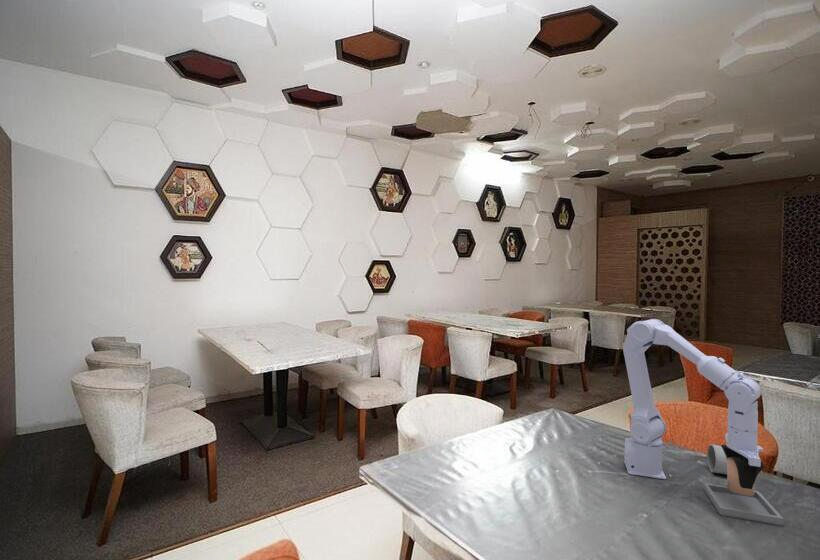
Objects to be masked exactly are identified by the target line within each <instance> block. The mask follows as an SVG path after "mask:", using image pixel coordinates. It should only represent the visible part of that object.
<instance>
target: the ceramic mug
mask: <svg viewBox="0 0 820 560" xmlns="http://www.w3.org/2000/svg"><path fill="white" fill-rule="evenodd" d="M706 455H707V456H706V457H707V458H706V459H707V465H708V468H709V471H710V472H711V473H714V474H721V475H725V476H727V458H726V455H725V453H724V451H723V449H722V447H721V445H718V444H712V443H711V444H709V445H708V448H707V453H706Z"/></svg>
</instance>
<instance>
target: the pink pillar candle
mask: <svg viewBox="0 0 820 560" xmlns="http://www.w3.org/2000/svg"><path fill="white" fill-rule="evenodd" d="M726 478H727V479H726V481H727V482H726V484H727V485H726V486H727V488H728V489H729V490H731V491H733V492H735V493H737V494H741V495H746V496H752V495H754V491H755V484H754V485H753V488H752V489H747V488H742V487H741V486H740V483H739V476H738V470H737V467H736V464H735V462H734V460H733V457H729V458H727V475H726Z"/></svg>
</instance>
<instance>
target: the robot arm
mask: <svg viewBox="0 0 820 560" xmlns="http://www.w3.org/2000/svg"><path fill="white" fill-rule="evenodd" d="M626 333H627V334H626V336H625V340H624V342H623V345H622V351H623V356H624V361H625V367H626V372H627V377H628V378H627V379H628V381H629V382H628V383H629V388H630V393H631V399H632V403H633V409H632V412H631V415H630V421H631V422H630V426H629V432H630V435H631V436H632V437H626V438H625V439H624V461H623V462H624V466H625V468H626V472H627V473H628V474H629V475H633V476H634V475H635V476H641V477H648V478H653V479H661V480H667V476H666V474H665V472H664V471H663V439H662V436H664V435H665V434H666V433H667V425H666V422H665V421H664V420H663V418H662V416H661V412H660V410H659V409H658V408H657V407H656V406H655V400H654V395H653V391H652V390H653V389H652V385H651V380H650V376H649V375H650V374H649V371H648V365H647V359H646V355H645V352H646V351H647V350H648V349H649V348H650V347H651V346H652V345H660V346H668V347H669V348H671V349H672V350H674V351H675V352H677V353H678V354H680V355H681V356H683V357H684V358H685V359H687V360H688V361H689V362H692V363H693V364H695V365H696V369H697V372H698V373H699V374H700V375H701V376H702V377H704V378H705V379H707V380H708V381H710V382H711V383H712V384H714V385H715V386H716V387H718V389H719V390H721V391H724V392H723V393H724V395H725V397H726V399H727V401H728V405H727V406H728V407H727V432H726V433H725V438H724V440H725V442H726V443H725V444H721V445H720V446H721V447H722V449H723V451H724V453H725V455H726V458H729V457H733V460H734V462H735V464H736V467H737V470H738V476H739V483H740V486H741V487H742V488H747V489H752V488H753V485H754V486H755V482H756V480H757V478H758V476H759V474H760V473H761V471H762V470H764V468H765V464H764V463H763V462H762V459H761V458H760V456H759V452H762V453H763V452H764V448H763V447H762V446H760V445H758V428H759V427H758V424H759V421H758V420H759V412H758V407H759V406H758V402H759V401H758V400H757V399H759V398H760V397H761V394H762V388H761V385H760V384H759V383H758V381H756V379H754V378H752V377H749V376H745V374H744V373H742V372H738V371H736V369H734V368H732V367H731V366H729V365H728V364H727V363H725V362H726V360H725V359H724V358H722V357H719V358H718V357H717V356H713V355H706V354H704V352H701V351H700V350H699V349H698V348H697V347H695V346H694V345H693V344H692V343H691V342H689V341H688V340H686V339H685V338H684V337H683V336H682V335H680V334H679V333H678V332H676V331H675V330H674V328H672V327H671V326H670V325H668V324H665V323H664V322H663V321H662V320H660V319H657V318H651V319H648V320H639V321H635V322H633V323H632V324H631V325H630V326H629V327H628V328H627V329H626Z"/></svg>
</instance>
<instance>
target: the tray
mask: <svg viewBox="0 0 820 560" xmlns="http://www.w3.org/2000/svg"><path fill="white" fill-rule="evenodd" d="M702 485H703V487H702V488H703V489H702V490H703V491H704V493H705V495H706V496H707V498H708V499H709V501H710V502H711V504H712V505H713V507H714V508H715V509H716V511H717V512H718V514H719V515H720V516H721V517H727V518H734V519H737V520H738V519H739V520H746V521H751V522H756V523H762V524H767V525H774V526H779V527H784V522H785V521H784V517H783V516H782V515H781V514H780V513H779V512H778V510H776V508H774V506H773V505H772V504H771V503H770V502H769V501H768V500H767V498H765V496H764V495H763V494H762V493H761V492H760V491H758V490H754V495H752V496H746V495H741V494H737V493H735V492H733V491H731V490H729V489H728V488H727V485H720V484H713V483H708V482H707V483H705V482H703V484H702Z"/></svg>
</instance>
